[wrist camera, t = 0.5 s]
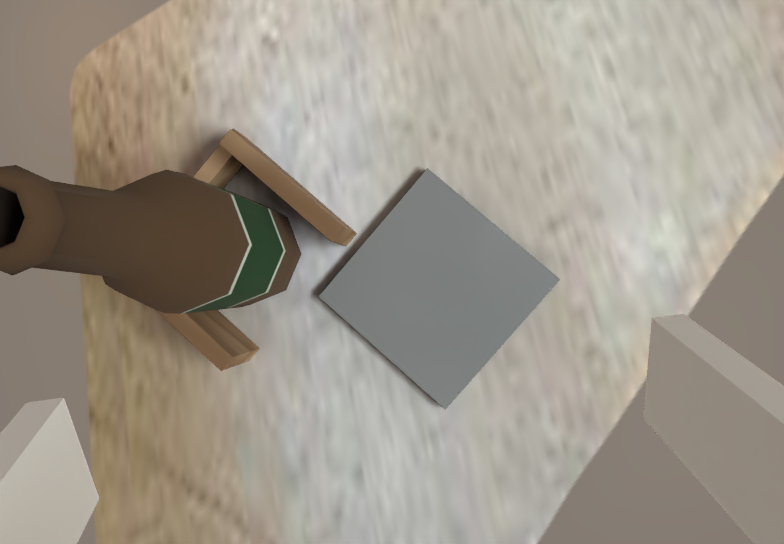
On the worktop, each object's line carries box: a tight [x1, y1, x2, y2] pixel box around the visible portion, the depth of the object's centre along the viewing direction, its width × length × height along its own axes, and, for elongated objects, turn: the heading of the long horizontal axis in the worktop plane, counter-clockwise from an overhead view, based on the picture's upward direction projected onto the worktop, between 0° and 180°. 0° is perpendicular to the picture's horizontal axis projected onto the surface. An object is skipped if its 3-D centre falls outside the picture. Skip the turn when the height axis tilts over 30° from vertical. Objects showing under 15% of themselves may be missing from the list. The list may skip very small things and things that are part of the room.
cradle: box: [155, 129, 357, 371], centre depth 40 cm, size 12×11×5 cm
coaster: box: [319, 168, 560, 409], centre depth 40 cm, size 12×12×1 cm
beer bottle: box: [0, 165, 301, 314], centre depth 31 cm, size 8×8×24 cm
